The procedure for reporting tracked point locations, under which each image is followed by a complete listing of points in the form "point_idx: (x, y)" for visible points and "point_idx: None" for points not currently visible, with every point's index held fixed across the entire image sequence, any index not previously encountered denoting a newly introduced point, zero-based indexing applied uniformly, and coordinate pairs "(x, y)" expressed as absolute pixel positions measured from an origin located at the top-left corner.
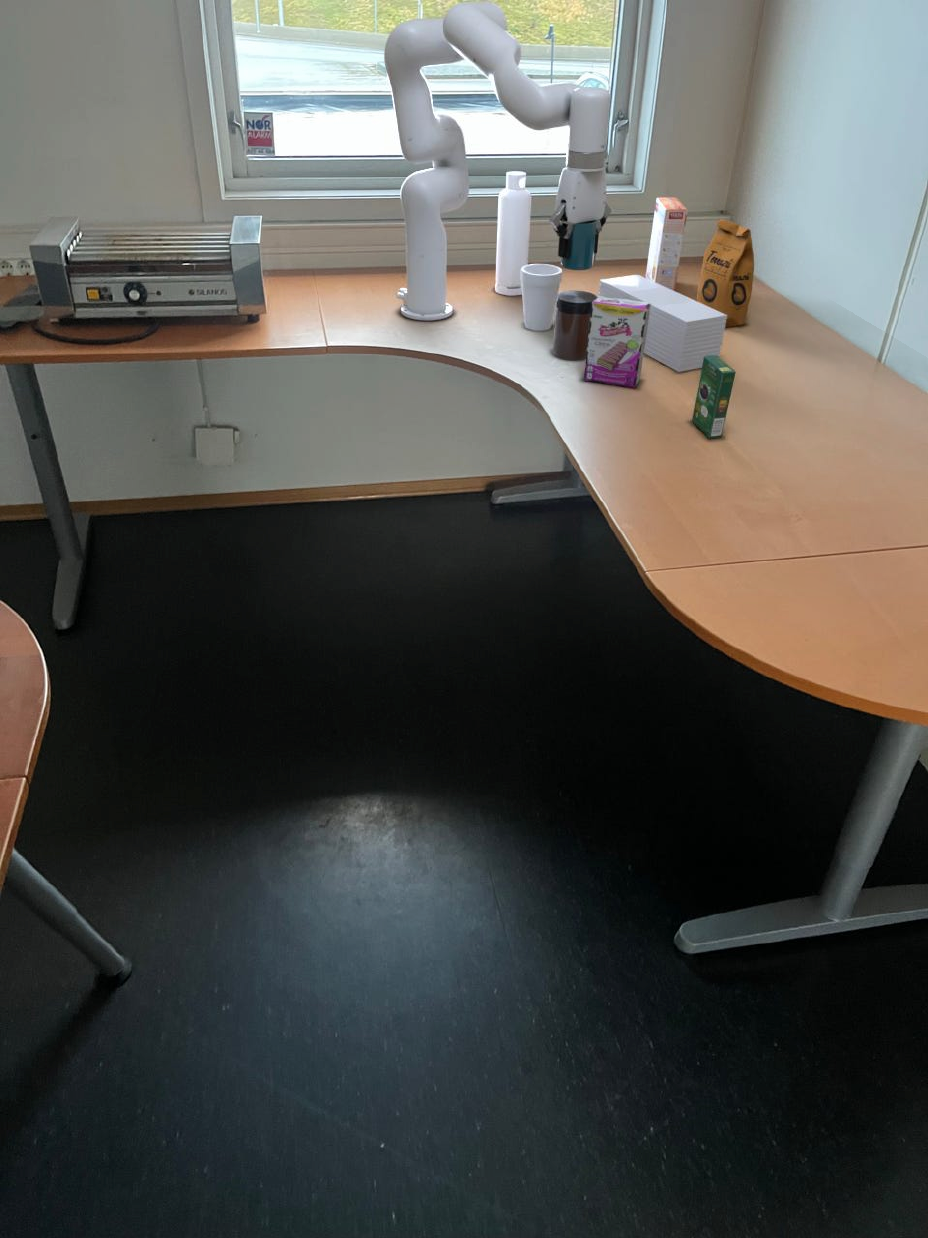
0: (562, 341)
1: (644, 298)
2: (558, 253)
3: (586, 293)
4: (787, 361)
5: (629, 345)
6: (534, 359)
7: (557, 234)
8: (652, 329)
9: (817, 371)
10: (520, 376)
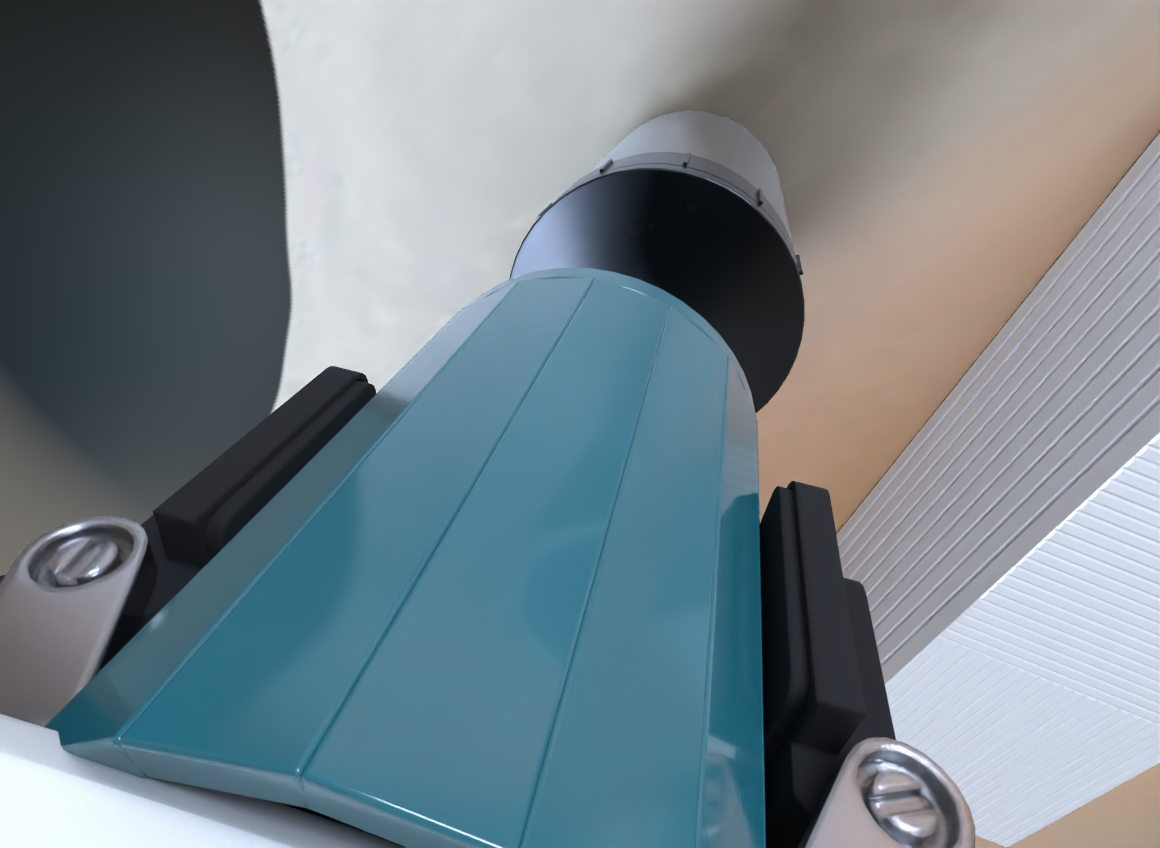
0: None
1: (1079, 550)
2: (322, 379)
3: (762, 335)
4: (1121, 788)
5: None
6: (493, 126)
7: (52, 549)
8: (915, 545)
9: (1065, 841)
10: (324, 216)
